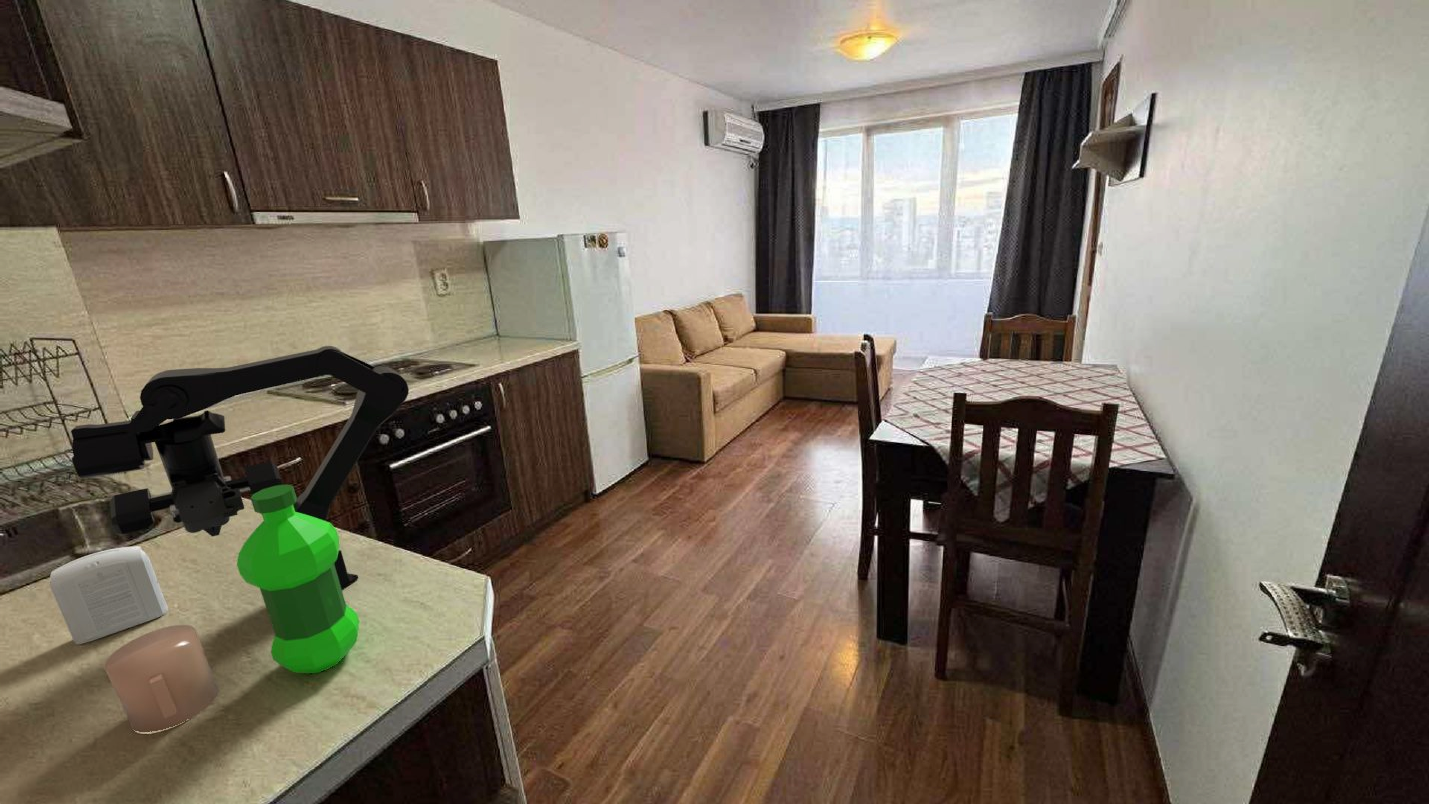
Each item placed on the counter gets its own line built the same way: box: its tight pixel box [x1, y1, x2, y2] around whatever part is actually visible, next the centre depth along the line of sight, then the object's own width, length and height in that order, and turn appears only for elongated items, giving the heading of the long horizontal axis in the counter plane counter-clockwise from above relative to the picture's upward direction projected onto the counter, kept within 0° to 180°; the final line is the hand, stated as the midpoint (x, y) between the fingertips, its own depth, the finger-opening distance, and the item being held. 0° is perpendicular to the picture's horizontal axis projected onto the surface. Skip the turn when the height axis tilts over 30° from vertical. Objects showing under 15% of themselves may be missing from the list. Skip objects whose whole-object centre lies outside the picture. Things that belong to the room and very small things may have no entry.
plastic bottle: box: [236, 484, 360, 675], centre depth 74 cm, size 10×10×25 cm
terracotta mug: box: [104, 624, 219, 732], centre depth 69 cm, size 9×8×9 cm
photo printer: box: [49, 545, 169, 645], centre depth 85 cm, size 10×4×12 cm, turn 134°
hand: (215, 534), depth 89 cm, fingers closed
